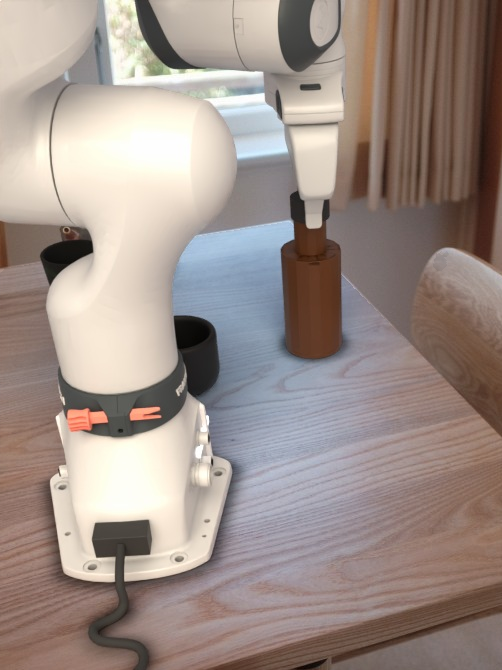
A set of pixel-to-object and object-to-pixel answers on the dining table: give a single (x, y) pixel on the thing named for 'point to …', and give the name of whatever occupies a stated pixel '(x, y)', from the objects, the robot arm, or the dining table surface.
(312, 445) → the dining table surface
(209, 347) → the mug
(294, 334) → the bottle
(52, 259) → the cup
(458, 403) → the dining table surface
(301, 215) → the cylinder
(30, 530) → the dining table surface
